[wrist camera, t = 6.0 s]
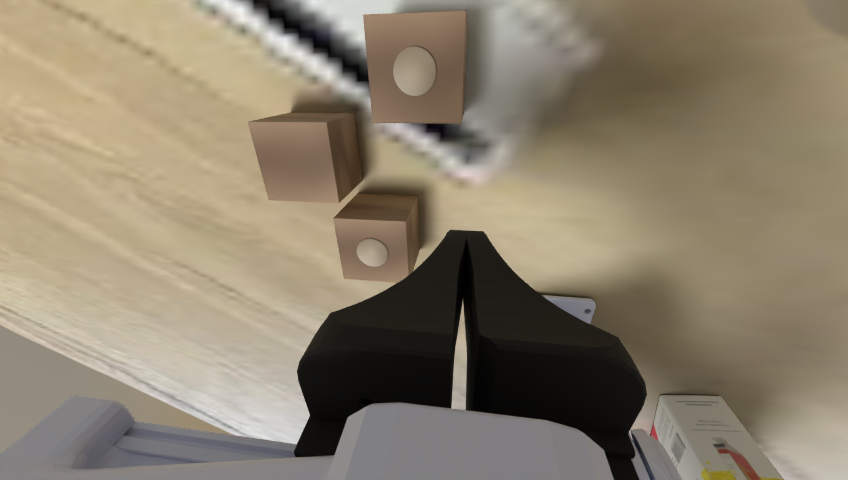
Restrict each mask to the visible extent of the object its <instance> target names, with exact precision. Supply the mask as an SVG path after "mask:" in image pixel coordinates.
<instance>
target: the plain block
mask: <svg viewBox="0 0 848 480" xmlns="http://www.w3.org/2000/svg"><path fill="white" fill-rule="evenodd" d="M248 125H249V129H250V132H251V136H252V140H253V143H254V147H255V151H256V154H257V158H258V162H259V165H260V169H261V173H262V176H263V180H264V184H265V188H266V191H267V195H268V199H269V200H278V201H302V202H325V203H340V202H341V201H342V200H343V199H344V198H345V197H346V196H347V195H348V194H349V193H350V192H351V191H352V190H353V189H354V188H355V187H356V186H357V185H358V184H359V183H360V182H361V181H362V180H363V179H362V170H361V161H360V152H359V143H358V134H357V125H356V117H355V113H286V114H282V115H277V116H273V117H268V118H264V119H259V120H254V121H250V122H248Z"/></svg>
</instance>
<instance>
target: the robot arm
mask: <svg viewBox="0 0 848 480" xmlns="http://www.w3.org/2000/svg"><path fill="white" fill-rule="evenodd" d="M462 301H463V303H464V317H465V330H466V343H467V383H466V410H458V409H451V402H452V385H453V368H454V354H455V345H456V339H457V333H458V327H459V320H460V314H461V308H462ZM595 308H596V304H595V302H594V300H592V299H588V298H575V297H562V296H549V295H540V294H539V293H538V292H536V291H535V290H534V289H533V288H531V287H530V286H529V285H528V284H527V283H525V282H524V281H523V280H522V279H521V278H520V277H519V276H518V275H517V274H516V273H515V272H514V271H513V270H512V269H511V268H510V267H509V266H508V265H507V263H506V262H505V261H504V260H503V259H502V257H501V256H500V255H499V253H498V252H497V251H496V249H495V248H494V247H493V245H492V244H491V242H490V240H489V239H488V237H487V235H486V234H485V233H484V232H483V231H463V230H450V231H449V232H447V234H446V236H445V237H444V239H443V240H442V242H441V243H440V244H439V245H438V247H437V248H436V249H435V250H434V251H433V253H432V254H431V255H430V256H429V257H428V258H427V259H426V260H425V261H424V262H423V263H422V264H421V265H420V266H419V267H418V268H417V269H416V270H414V271H413V272H412V273H411V274H410V275H408V276H407V277H406V278H404V279H403V280H401V281H400V282H398V283H397V284H395V285H393V286H392V287H390V288H388V289H387V290H385V291H383V292H381V293H379V294H377V295H375V296H373V297H371V298H369V299H367V300H365V301H362V302H360V303H357V304H355V305H352V306H349V307H346V308H344V309H341V310H338V311H335V312H332V313H330V314H329V316H328V317H327V319H326V320H325V321H324V323H323V324H322V325H321V327H320V328H319V330H318V331H317V333H316V334H315V336H314V338H313V339H312V341H311V343H310V345H309V346H308V348H307V350H306V351H305V353H304V355H303V357H302V358H301V360H300V362H299V366H298V370H297V374H298V380H299V384H300V387H301V390H302V393H303V396H304V399H305V401H306V404H307V407H308V410H309V413H310V417H309V419H308V422H307V424H306V426H305V428H304V430H303V432H302V435H301V437H300V439H299V441H298V443H297V444H290V443H283V442H277V441H270V440H263V439H256V438H249V437H242V436H235V435H228V434H221V433H214V432H207V431H200V430H193V429H186V428H179V427H172V426H166V425H158V424H151V423H144V422H138V421H135V418H134V416H133V415H132V413H131V412H130V411H129V409H128V408H126V407H125V406H124V405H123V404H121V403H119V402H117V401H114V400H110V399H105V398H97V397H90V396H82V395H73V396H70V397H69V398H68V399H67V400H66V401H64V402H63V403H62V404H61V405H59V406H58V407H57V408H56V409H55V410H53V411H52V412H51V413H50V414H49V415H47V416H46V417H45V418H44V419H43V420H41V421H40V422H39V423H38V424H37V425H35V426H34V427H33V428H32V429H30V431H28V432H27V433H26V434H24V435H23V436H22V437H21V438H20V439H18V440H17V441H16V442H15V443H14V444H12V445H11V446H10V447H9V448H7V449H6V450H5V451H4V452H3V453H1V454H0V480H682V478H681V476H680V474H679V473H678V471H677V469H676V467H675V465H674V463H673V461H672V460H671V458H670V456H669V455H668V453H667V451H666V450H665V448H664V447H663V445H662V444H661V443H660V442H659V441H658V440H656V439H655V438H653V437H652V436H650V435H648V434H647V433H646V431H644V430H643V429H634V430H631V435H632V438H631V437H630V434H629V430H630V429H631V427H632V425H633V423H634V421H635V420H636V418H637V416H638V414H639V413H640V411H641V409H642V407H643V405H644V402H645V399H646V396H647V392H646V386H645V382H644V380H643V378H642V376H641V375H640V373H639V371H638V369H637V367H636V365H635V363H634V362H633V360H632V358H631V356H630V355H629V353H628V352H627V350H626V349H625V347H624V346H623V344H622V343H621V341H620V340H619V338H618V337H616V336H614V335H612V334H610V333H607V332H605V331H603V330H601V329H599V328H597V327H595V326H593V325H591V324H590V323H591V320H592V317H593V314H594V311H595ZM586 309H589V310H587V311H585V310H586ZM632 439H633V440H632Z"/></svg>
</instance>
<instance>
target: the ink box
mask: <svg viewBox="0 0 848 480" xmlns="http://www.w3.org/2000/svg"><path fill="white" fill-rule="evenodd" d="M651 436H652V437H653V438H655V439H656V440H658V441H659V442H660V443H661V444H662V445H663V447H664V448H665V450H666V451H667V453H668V455H669V456H670V458H671V460H672V461H673V463H674V465H675V467H676V469H677V471H678V473H679V474H680V476H681V478H682V480H784V479H783V477H782V476H781V475H780V473H779V472H778V471H777V470H776V468H775V467H774V466H773V464H772V463H771V462H770V460H769V459H768V458H767V457H766V455H765V454H764V453H763V451H762V450H761V449H760V447H759V446H758V445H757V443H756V442H755V441H754V439H753V438H752V437H751V435H750V434H749V433H748V432H747V430H746V429H745V428H744V426H743V425H742V424H741V422H740V421H739V420H738V418H737V417H736V416H735V414H734V413H733V412H732V410H731V409H730V408H729V407H728V405H727V404H726V403H725V401H724V400H723V399H722V397H720V396H696V395H661V396H660V397H659V402H658V406H657V410H656V415H655V419H654V424H653V427H652V432H651Z"/></svg>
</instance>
